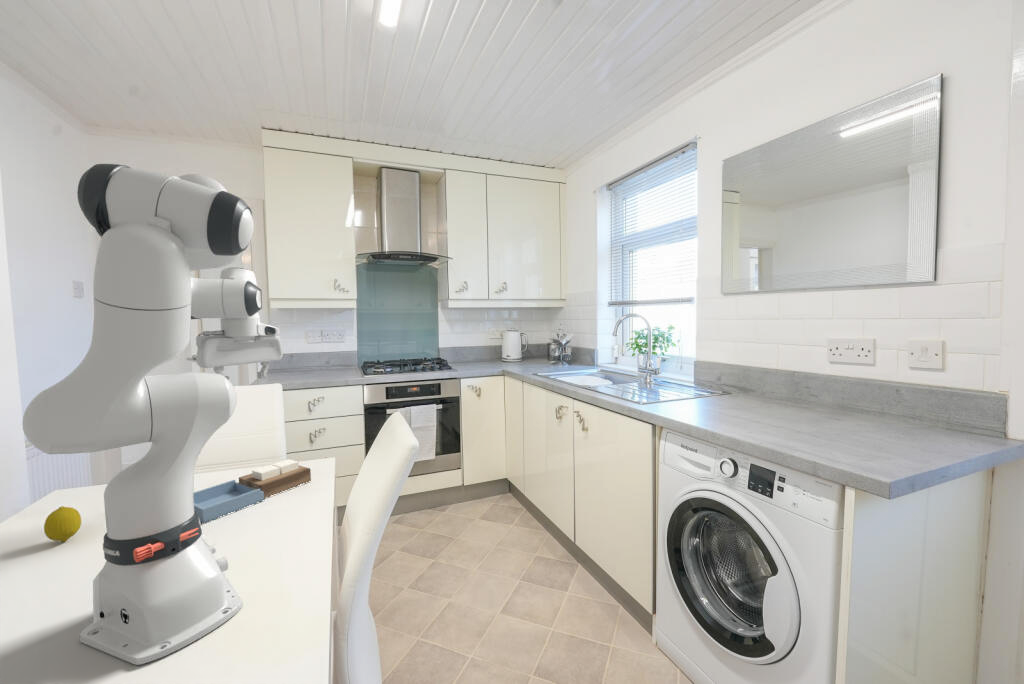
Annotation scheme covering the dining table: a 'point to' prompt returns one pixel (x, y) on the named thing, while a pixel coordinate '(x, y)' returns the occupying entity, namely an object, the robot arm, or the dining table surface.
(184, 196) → the robot arm
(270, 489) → the flat wooden block
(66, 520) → the lemon
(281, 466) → the tile rear
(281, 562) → the dining table surface
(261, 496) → the box
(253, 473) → the tile front
